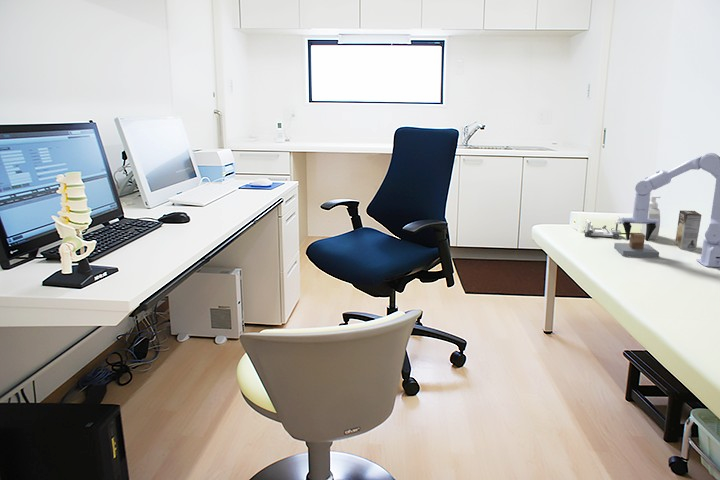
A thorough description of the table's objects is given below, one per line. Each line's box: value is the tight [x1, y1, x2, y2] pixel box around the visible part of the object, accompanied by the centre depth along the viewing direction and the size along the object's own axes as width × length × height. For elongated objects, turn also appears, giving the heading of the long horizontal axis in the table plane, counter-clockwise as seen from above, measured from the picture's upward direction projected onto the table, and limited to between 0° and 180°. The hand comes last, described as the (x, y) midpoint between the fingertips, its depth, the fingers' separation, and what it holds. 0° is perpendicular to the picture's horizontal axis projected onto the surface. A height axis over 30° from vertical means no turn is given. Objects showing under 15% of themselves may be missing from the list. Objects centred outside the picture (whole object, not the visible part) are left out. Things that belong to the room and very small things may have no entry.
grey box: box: [613, 242, 660, 259], centre depth 242 cm, size 14×14×3 cm
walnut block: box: [628, 231, 646, 249], centre depth 241 cm, size 4×4×6 cm
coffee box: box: [674, 210, 702, 251], centre depth 251 cm, size 9×6×16 cm
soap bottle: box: [640, 195, 661, 241], centre depth 269 cm, size 16×5×20 cm, turn 165°
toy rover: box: [584, 216, 625, 240], centre depth 274 cm, size 18×10×12 cm
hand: (637, 240), depth 241 cm, fingers open, 7 cm apart
